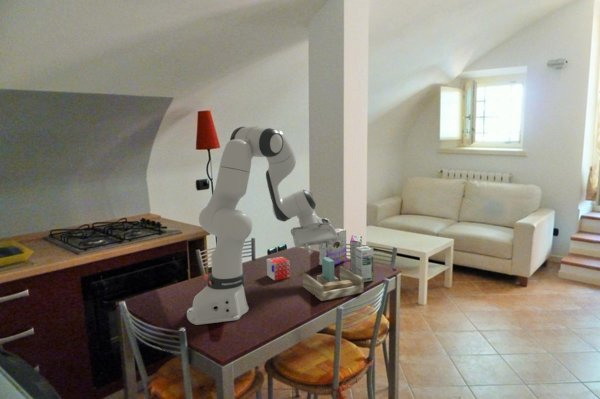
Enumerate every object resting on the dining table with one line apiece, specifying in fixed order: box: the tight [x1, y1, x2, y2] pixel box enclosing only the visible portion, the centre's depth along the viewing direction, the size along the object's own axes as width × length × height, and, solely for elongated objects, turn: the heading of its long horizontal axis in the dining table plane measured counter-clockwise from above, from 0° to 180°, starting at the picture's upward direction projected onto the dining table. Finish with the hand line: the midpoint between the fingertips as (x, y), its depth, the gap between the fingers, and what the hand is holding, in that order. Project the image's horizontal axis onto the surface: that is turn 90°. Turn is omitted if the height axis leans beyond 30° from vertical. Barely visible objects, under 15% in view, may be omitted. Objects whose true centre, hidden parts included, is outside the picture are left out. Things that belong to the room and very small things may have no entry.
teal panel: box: [321, 257, 335, 282], centre depth 178 cm, size 2×6×12 cm, turn 24°
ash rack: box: [302, 266, 364, 302], centre depth 175 cm, size 19×17×6 cm
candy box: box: [318, 227, 348, 267], centre depth 208 cm, size 14×6×16 cm, turn 130°
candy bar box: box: [349, 234, 363, 274], centre depth 194 cm, size 11×5×16 cm, turn 168°
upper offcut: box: [321, 280, 352, 292], centre depth 171 cm, size 12×4×2 cm, turn 103°
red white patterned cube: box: [266, 256, 291, 281], centre depth 192 cm, size 8×8×8 cm
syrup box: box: [356, 245, 374, 283], centre depth 185 cm, size 6×6×14 cm
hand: (321, 252), depth 182 cm, fingers open, 8 cm apart
